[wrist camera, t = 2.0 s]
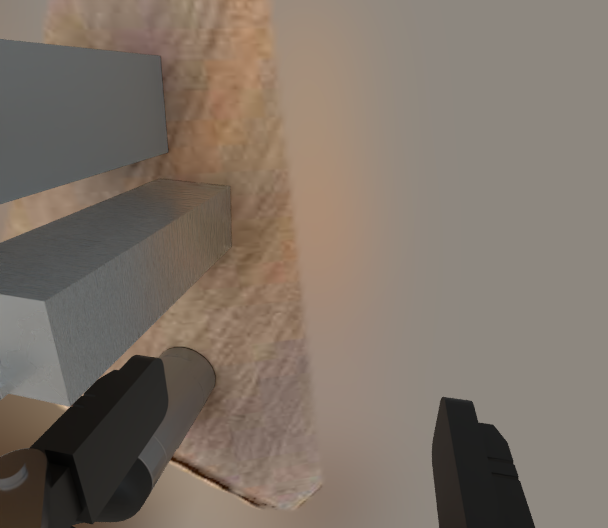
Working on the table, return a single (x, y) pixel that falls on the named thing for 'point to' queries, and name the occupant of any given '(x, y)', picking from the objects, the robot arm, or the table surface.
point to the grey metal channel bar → (102, 282)
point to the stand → (75, 114)
